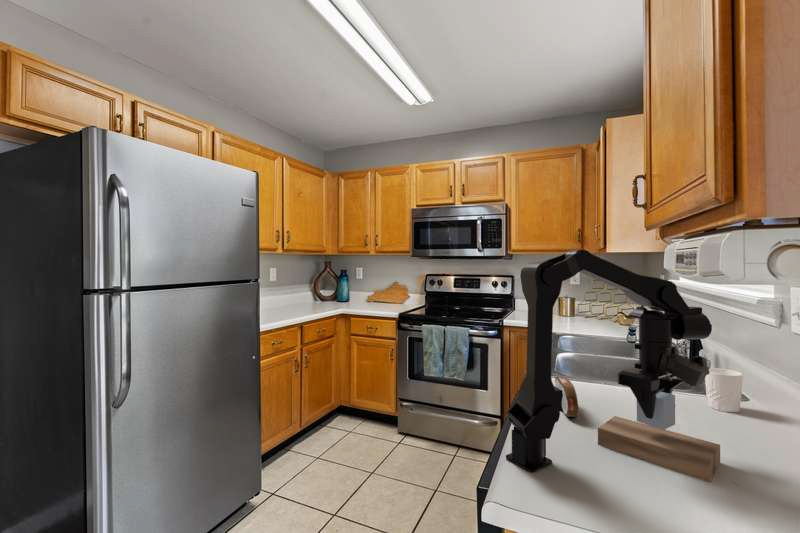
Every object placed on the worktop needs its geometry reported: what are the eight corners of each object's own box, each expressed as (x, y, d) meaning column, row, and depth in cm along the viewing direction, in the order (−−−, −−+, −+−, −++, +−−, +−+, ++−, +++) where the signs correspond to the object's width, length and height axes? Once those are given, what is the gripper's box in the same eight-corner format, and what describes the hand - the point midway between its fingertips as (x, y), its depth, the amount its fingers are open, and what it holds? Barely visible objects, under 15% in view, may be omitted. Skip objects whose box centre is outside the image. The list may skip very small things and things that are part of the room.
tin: (579, 422, 92) (579, 388, 92) (566, 421, 93) (565, 388, 93) (565, 401, 107) (565, 372, 107) (553, 400, 108) (553, 371, 108)
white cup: (750, 414, 97) (750, 376, 97) (717, 412, 98) (716, 375, 98) (729, 403, 105) (728, 368, 105) (698, 402, 106) (697, 367, 106)
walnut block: (710, 484, 67) (709, 462, 67) (597, 446, 81) (597, 428, 81) (720, 465, 73) (720, 444, 73) (614, 432, 87) (614, 415, 87)
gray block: (663, 430, 74) (663, 399, 74) (636, 421, 78) (636, 392, 78) (675, 424, 76) (675, 395, 76) (648, 416, 80) (648, 388, 80)
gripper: (680, 353, 65) (681, 441, 65) (721, 341, 75) (721, 419, 75) (615, 342, 75) (616, 420, 75) (659, 333, 85) (660, 402, 85)
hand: (655, 415), depth 77 cm, fingers closed on gray block, 5 cm apart
